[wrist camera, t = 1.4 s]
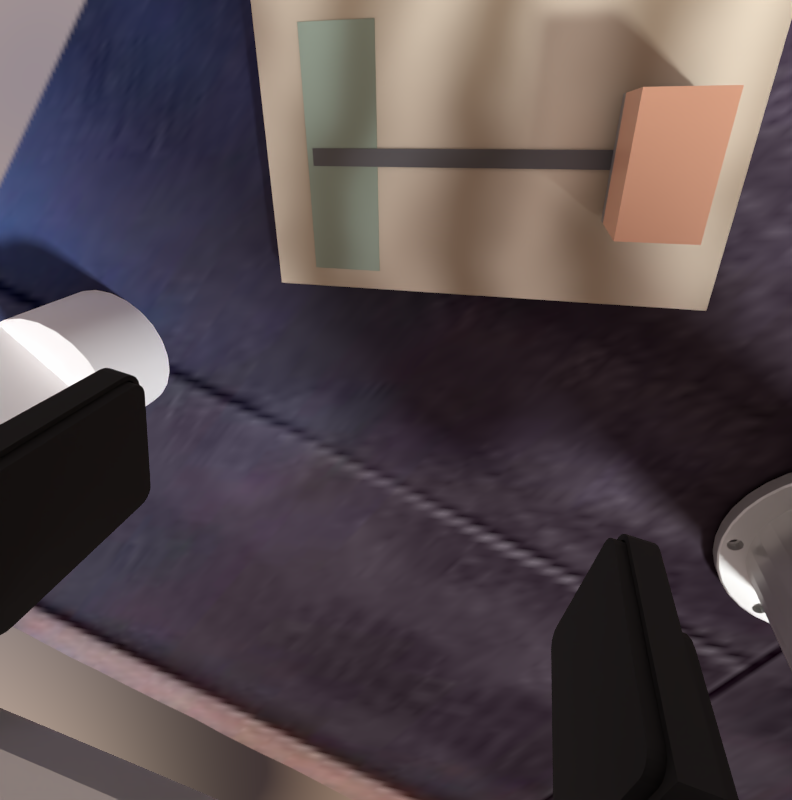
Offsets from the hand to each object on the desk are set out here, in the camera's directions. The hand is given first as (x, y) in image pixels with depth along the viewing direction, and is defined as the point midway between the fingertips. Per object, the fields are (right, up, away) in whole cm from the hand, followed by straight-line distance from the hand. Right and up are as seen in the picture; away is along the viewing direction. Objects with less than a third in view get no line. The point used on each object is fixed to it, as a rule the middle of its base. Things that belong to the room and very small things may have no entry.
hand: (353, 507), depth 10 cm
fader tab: (+12, +12, +12) cm, 21 cm away
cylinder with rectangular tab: (-20, +6, +27) cm, 34 cm away
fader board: (+5, +14, +16) cm, 22 cm away
